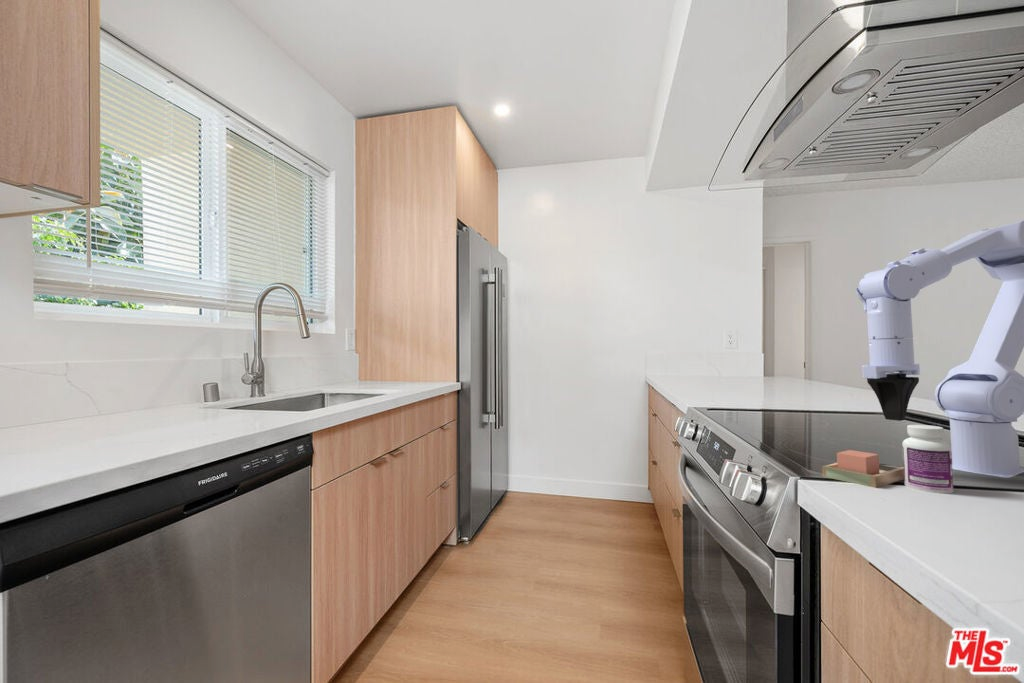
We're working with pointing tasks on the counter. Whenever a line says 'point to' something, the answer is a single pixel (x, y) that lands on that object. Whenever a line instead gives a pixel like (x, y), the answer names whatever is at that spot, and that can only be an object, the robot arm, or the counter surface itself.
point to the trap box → (865, 475)
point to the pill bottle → (927, 460)
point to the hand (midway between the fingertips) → (894, 419)
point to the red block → (858, 462)
